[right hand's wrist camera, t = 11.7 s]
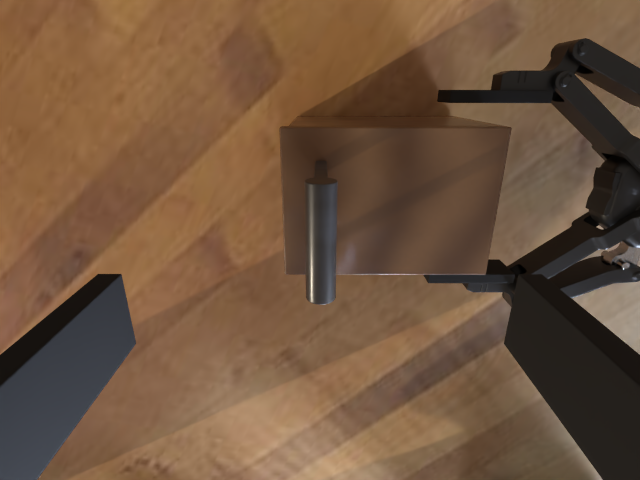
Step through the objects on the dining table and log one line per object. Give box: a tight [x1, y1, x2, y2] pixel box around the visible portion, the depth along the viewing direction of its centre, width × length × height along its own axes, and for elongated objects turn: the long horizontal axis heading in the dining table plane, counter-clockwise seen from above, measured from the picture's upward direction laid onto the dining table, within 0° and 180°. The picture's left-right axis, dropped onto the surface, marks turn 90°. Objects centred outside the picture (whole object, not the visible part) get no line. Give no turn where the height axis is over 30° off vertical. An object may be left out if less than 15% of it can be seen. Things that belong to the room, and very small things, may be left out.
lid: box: [280, 126, 511, 304], centre depth 21 cm, size 14×10×8 cm
